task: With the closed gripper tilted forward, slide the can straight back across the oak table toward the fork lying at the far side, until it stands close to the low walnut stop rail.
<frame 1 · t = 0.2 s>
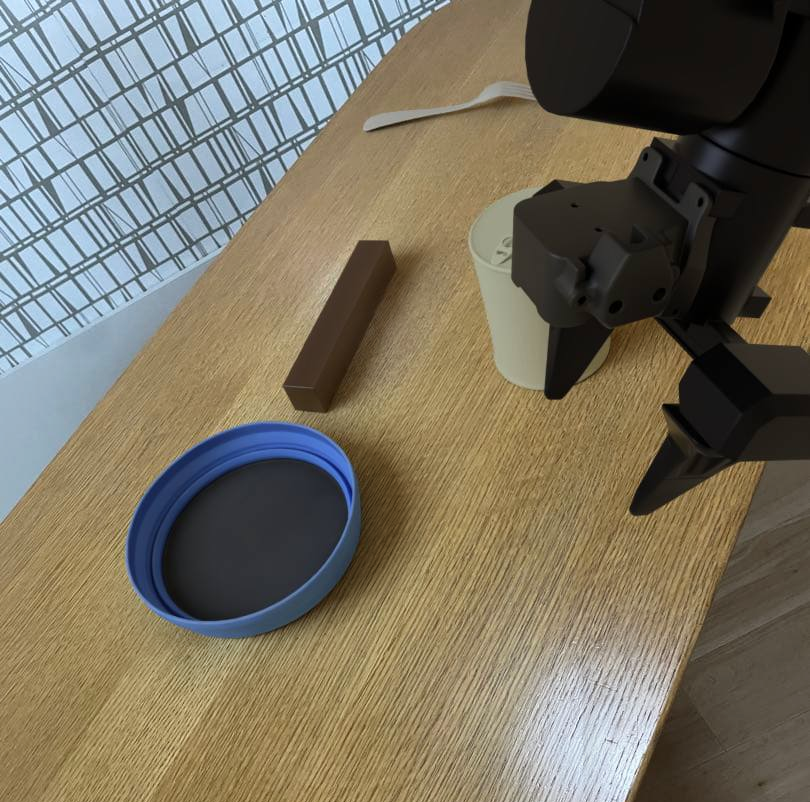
hand: (592, 452, 43), 14 cm above the table, tool tilted 30°, fingers open, 9 cm apart
fork: (456, 116, 90), on the table
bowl: (257, 542, 64), on the table
stop rail: (348, 335, 74), on the table
can: (551, 350, 67), on the table
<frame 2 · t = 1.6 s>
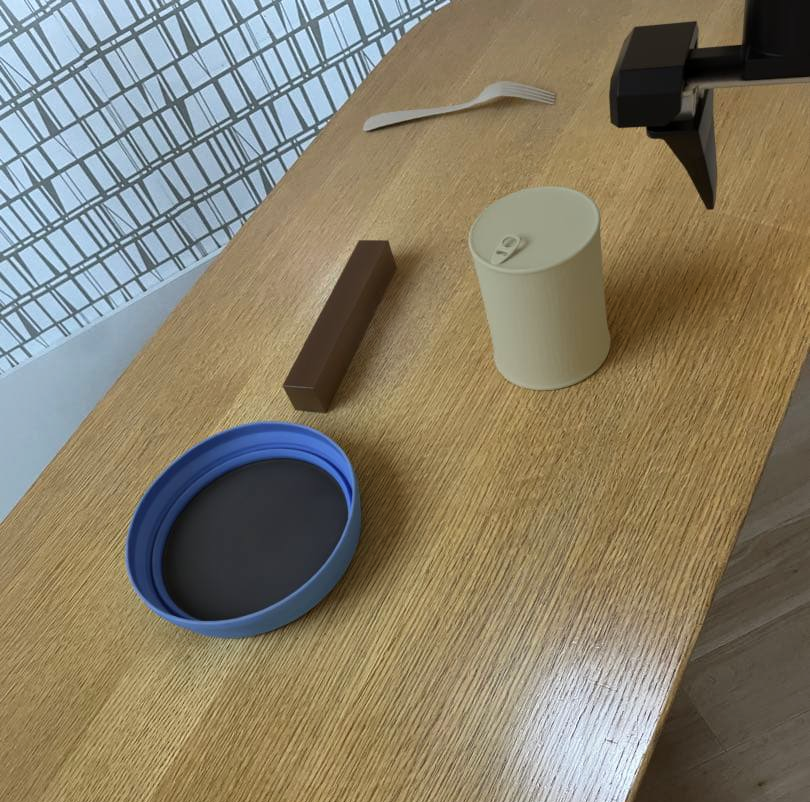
hand: (780, 204, 51), 13 cm above the table, tool pointing down, fingers open, 8 cm apart
nothing on the table moved.
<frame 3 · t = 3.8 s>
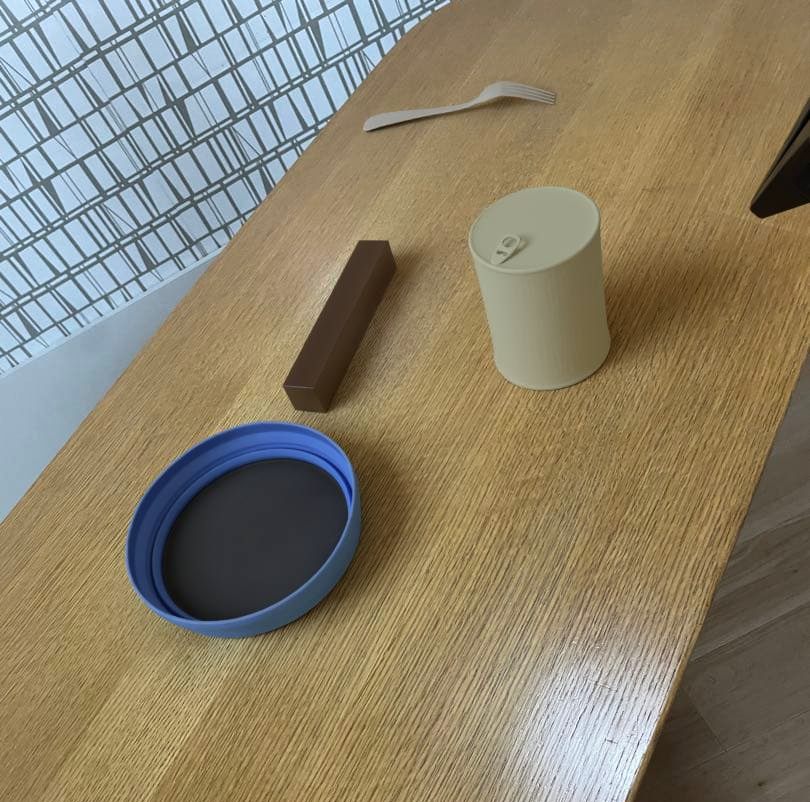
hand: (755, 210, 52), 12 cm above the table, tool tilted 45°, fingers closed
nothing on the table moved.
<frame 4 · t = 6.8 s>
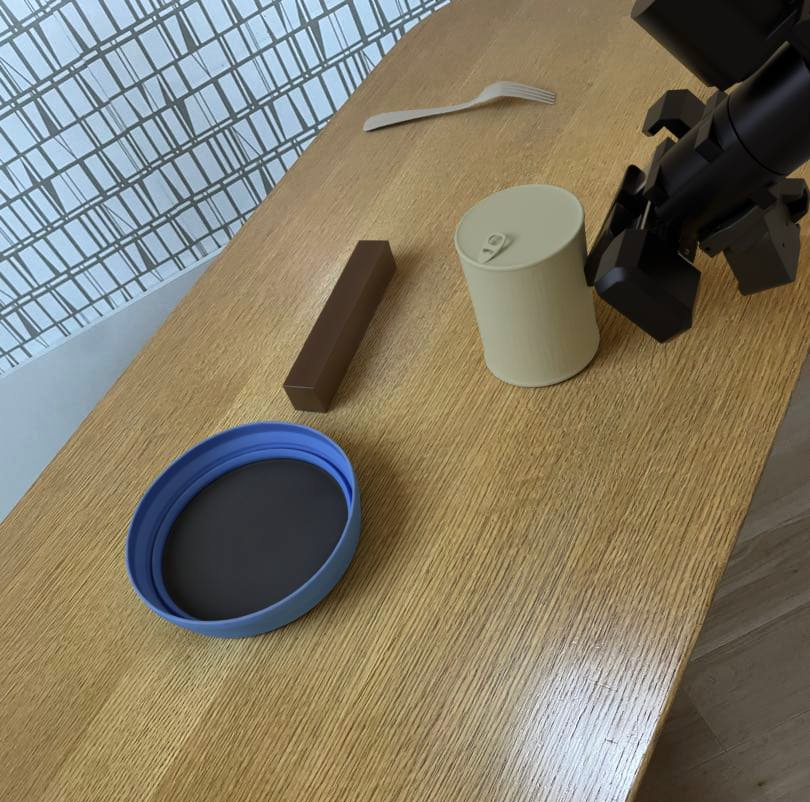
hand: (584, 280, 61), 7 cm above the table, tool tilted 45°, fingers closed, pressing on can
can: (541, 347, 68), on the table, touching gripper
everything else where it was.
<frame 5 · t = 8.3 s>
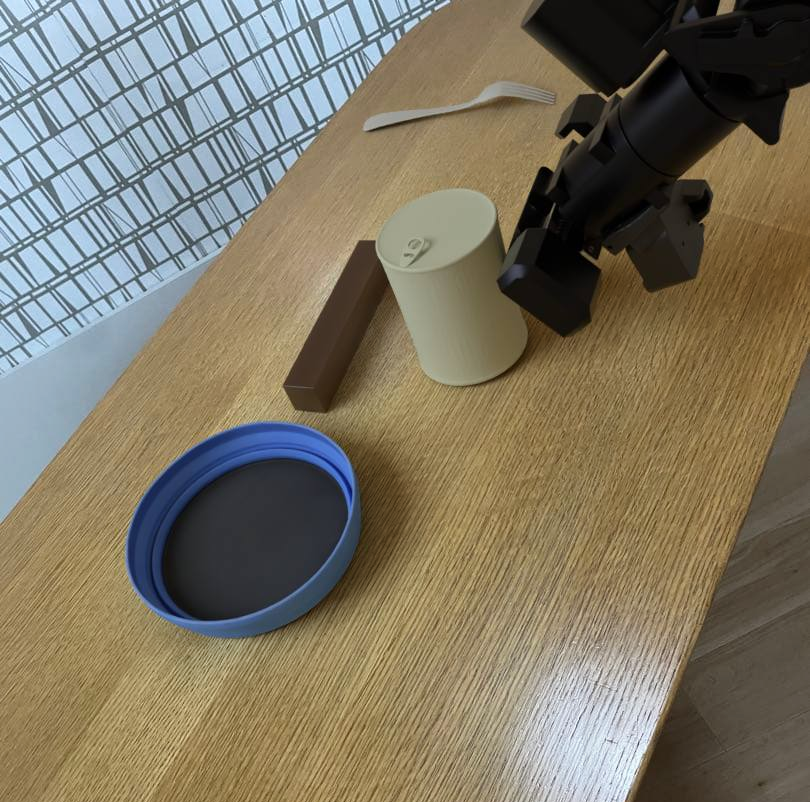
hand: (504, 277, 63), 7 cm above the table, tool tilted 45°, fingers closed, pressing on can
can: (473, 347, 69), on the table, touching gripper
everything else where it was.
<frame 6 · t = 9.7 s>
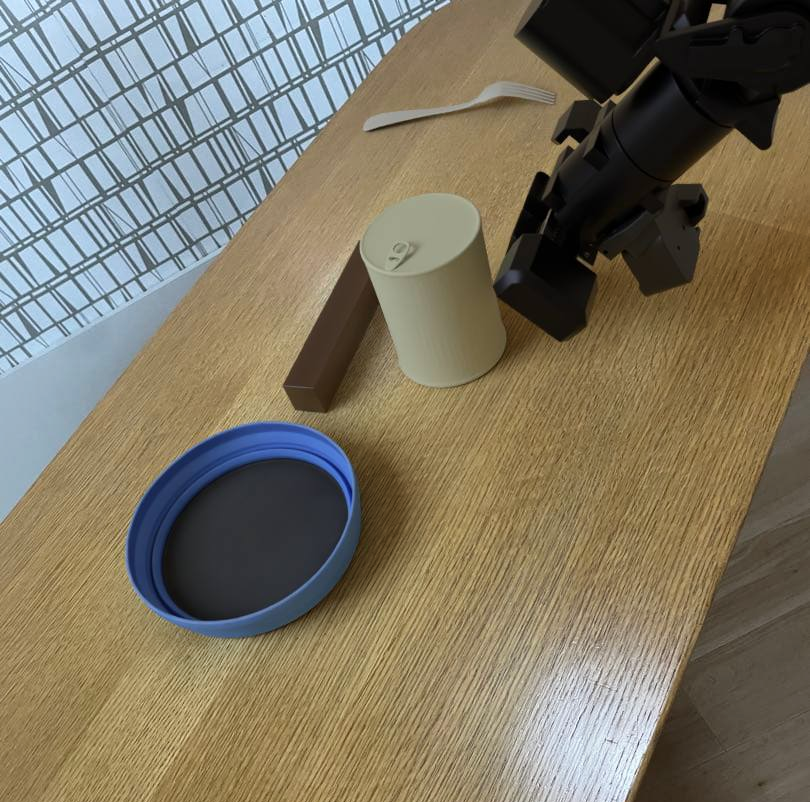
hand: (502, 282, 63), 6 cm above the table, tool tilted 45°, fingers closed
can: (452, 349, 70), on the table
everything else where it was.
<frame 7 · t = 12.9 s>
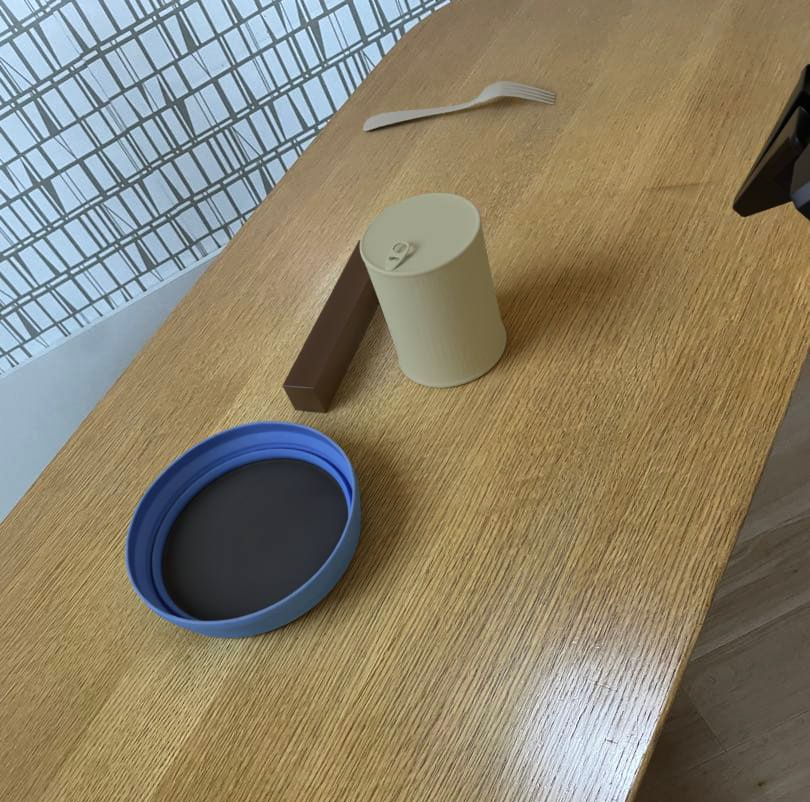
hand: (738, 209, 52), 13 cm above the table, tool tilted 45°, fingers closed
nothing on the table moved.
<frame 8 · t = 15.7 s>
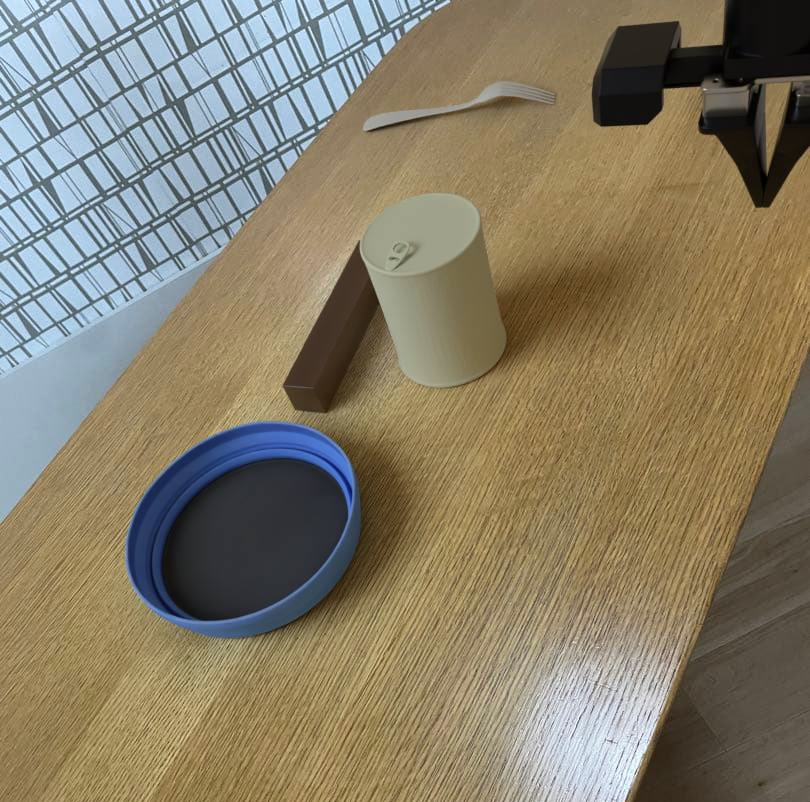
hand: (763, 203, 51), 13 cm above the table, tool pointing down, fingers closed
nothing on the table moved.
at the end: can inside the target area on the table beside the stop rail (1.3 cm from its centre), on the table; can 35.4 cm from the fork (horizontally); can tilted 0° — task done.
